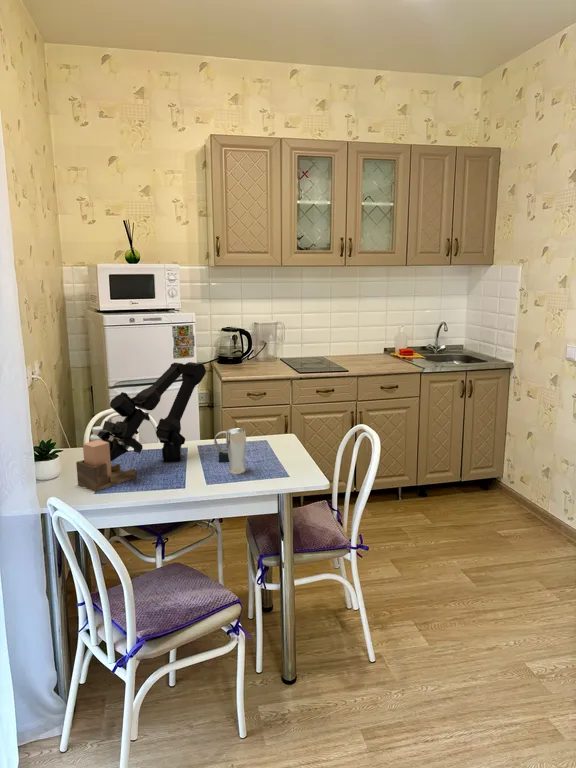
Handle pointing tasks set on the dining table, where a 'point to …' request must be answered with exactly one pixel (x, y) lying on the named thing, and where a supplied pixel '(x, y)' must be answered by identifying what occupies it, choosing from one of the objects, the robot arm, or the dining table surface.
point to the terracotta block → (97, 454)
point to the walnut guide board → (101, 475)
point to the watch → (223, 453)
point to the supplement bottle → (96, 433)
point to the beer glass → (236, 450)
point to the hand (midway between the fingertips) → (106, 462)
